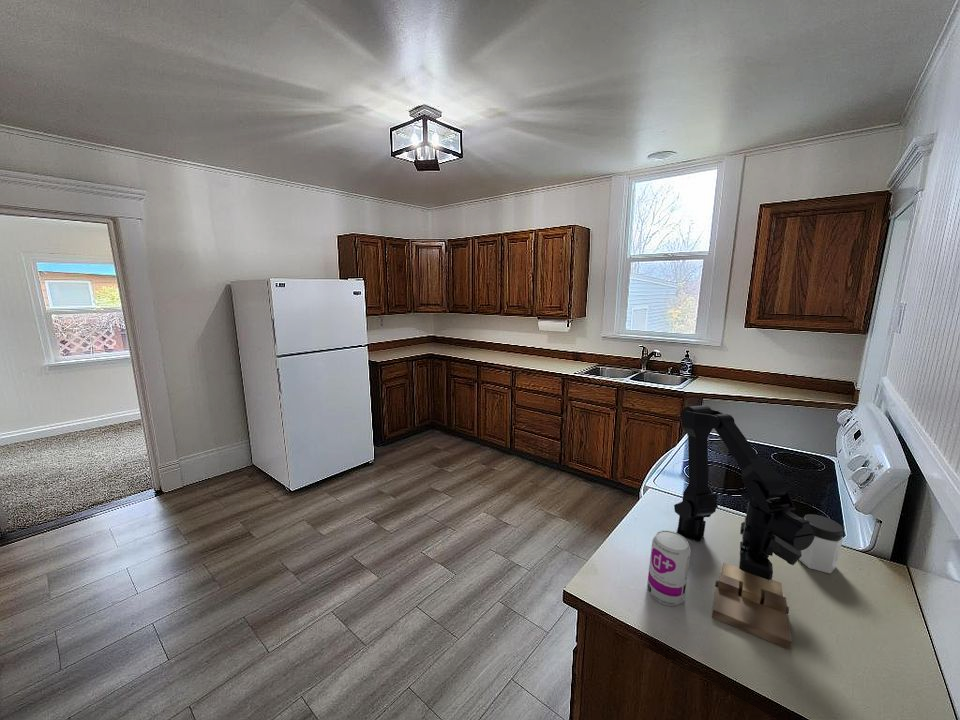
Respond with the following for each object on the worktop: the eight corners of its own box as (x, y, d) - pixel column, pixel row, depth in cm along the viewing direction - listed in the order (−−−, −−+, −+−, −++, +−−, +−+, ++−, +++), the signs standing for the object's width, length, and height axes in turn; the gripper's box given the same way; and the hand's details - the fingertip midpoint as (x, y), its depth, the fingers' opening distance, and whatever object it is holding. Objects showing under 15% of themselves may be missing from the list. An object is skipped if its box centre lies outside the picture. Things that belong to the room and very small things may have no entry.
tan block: (719, 596, 94) (721, 581, 93) (721, 575, 101) (723, 562, 100) (781, 620, 88) (784, 605, 87) (778, 596, 94) (781, 582, 93)
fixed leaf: (711, 616, 88) (713, 601, 88) (714, 586, 97) (717, 572, 97) (790, 650, 81) (793, 633, 80) (786, 613, 90) (789, 598, 89)
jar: (828, 578, 101) (837, 537, 98) (790, 559, 107) (798, 520, 105) (840, 564, 105) (849, 525, 103) (803, 547, 112) (810, 510, 110)
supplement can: (668, 613, 89) (676, 556, 86) (639, 588, 96) (645, 534, 93) (691, 600, 93) (699, 545, 90) (661, 577, 100) (668, 525, 97)
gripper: (806, 558, 83) (794, 619, 86) (797, 514, 98) (787, 567, 101) (744, 538, 89) (734, 596, 92) (744, 500, 104) (736, 551, 108)
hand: (750, 577), depth 98 cm, fingers closed
